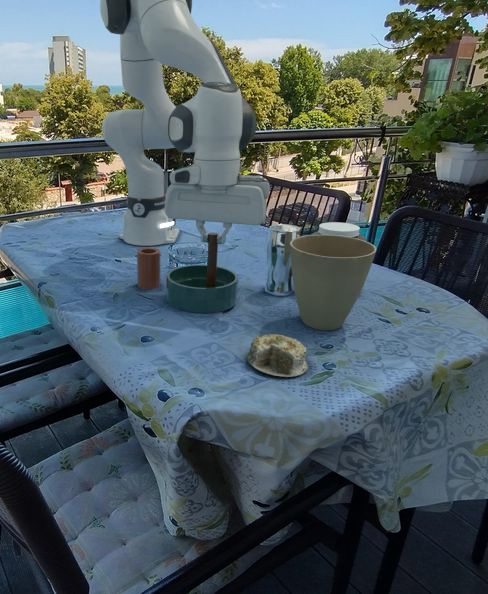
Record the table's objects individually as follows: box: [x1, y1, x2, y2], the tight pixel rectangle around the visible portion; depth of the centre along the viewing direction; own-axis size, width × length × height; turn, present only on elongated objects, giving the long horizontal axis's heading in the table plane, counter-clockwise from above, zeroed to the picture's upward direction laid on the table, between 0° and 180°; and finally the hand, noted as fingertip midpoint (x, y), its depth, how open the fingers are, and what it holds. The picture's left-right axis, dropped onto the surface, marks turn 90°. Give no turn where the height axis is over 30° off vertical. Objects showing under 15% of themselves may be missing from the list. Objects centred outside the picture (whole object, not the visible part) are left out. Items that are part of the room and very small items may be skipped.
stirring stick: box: [206, 232, 219, 288], centre depth 97 cm, size 2×2×14 cm
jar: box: [310, 221, 367, 242], centre depth 105 cm, size 12×12×15 cm
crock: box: [136, 247, 161, 290], centre depth 109 cm, size 5×5×9 cm
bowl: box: [166, 264, 239, 314], centre depth 101 cm, size 15×15×6 cm
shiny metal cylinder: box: [264, 223, 302, 297], centre depth 104 cm, size 7×7×15 cm
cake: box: [246, 333, 309, 378], centre depth 77 cm, size 10×10×5 cm
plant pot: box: [290, 234, 377, 331], centre depth 89 cm, size 15×15×16 cm
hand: (213, 242), depth 96 cm, fingers closed on stirring stick, 2 cm apart
